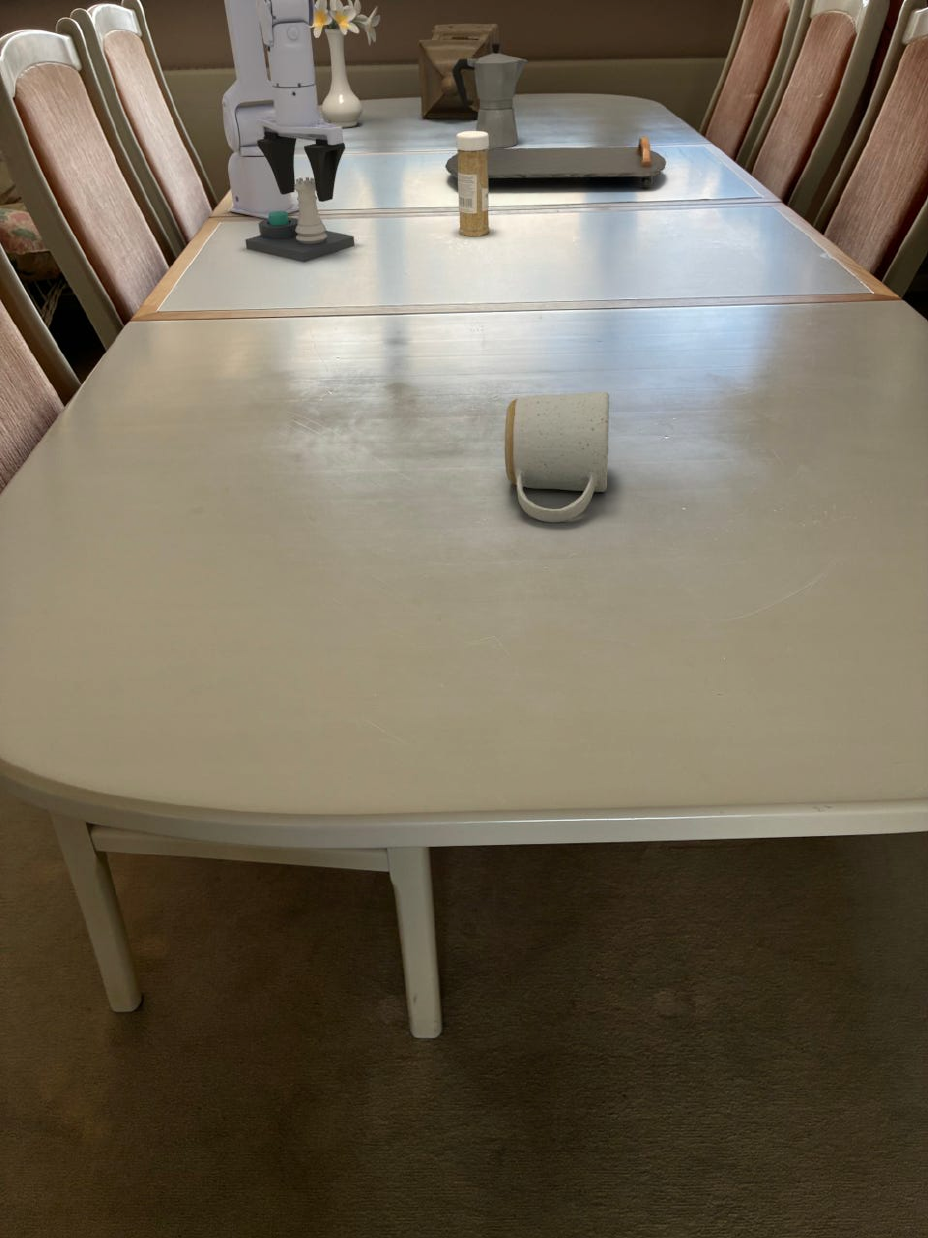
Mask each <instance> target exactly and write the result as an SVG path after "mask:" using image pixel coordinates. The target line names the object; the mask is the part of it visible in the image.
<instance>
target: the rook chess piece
mask: <svg viewBox="0 0 928 1238" xmlns="http://www.w3.org/2000/svg"><path fill="white" fill-rule="evenodd" d="M294 189H295V191H296V193H297V194H298V195H297V197H296V200H297V201H298V205H299V211H298V220H299V221H298V222H297V223H298V225H297V227H296V229H295V231H296V233H297V234H298V235H297V236H296V239H297V240H298V241H299V242H300V243H304V244H314V243H320V242H323V241H324V240H325V239H326V237H327V234H325V233H324V232H325V230H326V231H327V228H326V226H325V224H324V223H323V220H322V219H321V217H320V214H319V209H318V205H317V200H318V197H317V195H316V187H315V180H314V177H310V176H309V177H308V176H305V180H304V178H303V177H298V178H295V186H294Z"/></svg>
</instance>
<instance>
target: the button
mask: <svg viewBox="0 0 928 1238" xmlns="http://www.w3.org/2000/svg"><path fill="white" fill-rule="evenodd" d="M288 217H289V213H287V212H284V211H275V212H271V213H269V214H268V218H269V225H285V224H288V223H289V219H288Z"/></svg>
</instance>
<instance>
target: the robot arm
mask: <svg viewBox="0 0 928 1238" xmlns="http://www.w3.org/2000/svg"><path fill="white" fill-rule="evenodd" d="M223 2H224V8H225V13H226V21H227V27H228V33H229V39H230V45H231V52H232V57H233V65H234V70H235V78H236V80H235V81H234V82H233V84H232V85H231V86H230V87H229V88H228V89H227V90H226V91H225V93H224V94H223V96H222V100H221V105H222V106H221V107H222V120H223V121H222V122H223V129H224V133H225V138H226V141H227V144H228V147H229V148H230V149H231V150H232V151H233V153H232V154H231V156H230V158H229V160H228V164H227V172H228V179H229V186H230V193H231V199H232V205H233V207H230V208H229V212H232V213H236V214H241V215H246V216H250V217H251V216H252V217H256V218H261V219H264V220H266V219H269V218H268V214H269V213H271V212H275V211H284V212H287V213H288V214H291V213H294V212H299V204H295V203H292V197H291V196H292V195H291V193H295V191H296V190H295V189H294V186H295V184H296V175H295V150H296V143H297V140H305V141H311V142H315V143H311V144H308V145H304V146H303V150H304V152H305V154H306V156H307V159H308V162H309V165H310V167H311V172H312V174H313V178H314V182H315V187H316V191H315V194H316V197H317V200H318V202H320V203H325V202H328V201H331V200H333V198H334V191H335V183H336V179H337V174H338V173H337V172H338V169H339V165H340V162H341V159H342V157H343V154H344V152H345V150H346V144H345V143H344V133H343V128H342V127H341V126H335V125H332V124H330V122H326V121H325V119H324V118H321V117H320V110H319V100H318V92H317V91H318V90H317V84H316V83H317V81H316V80H317V79H316V71H315V62H314V51H313V42H312V31H311V28H310V27H309V26H312V25H313V23H314V17H315V6H314V5H315V0H223ZM308 25H309V26H308ZM263 44H264V45H266V50H267V60H268V67H269V68H268V69H269V74H270V75H269V76H270V80H269V79H268V71H267V64H266V58H265V57H266V56H265V51H264V50H265V49H264V45H263ZM262 101H271V102H269V103H257V104H247V105H241V104H243V103H250V102H251V103H252V102H262Z"/></svg>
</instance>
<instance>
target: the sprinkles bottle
mask: <svg viewBox="0 0 928 1238" xmlns="http://www.w3.org/2000/svg"><path fill="white" fill-rule="evenodd" d="M455 136H456V137H455V141H456V142H455V146H456V149H457V154H458V178H457V189H458V191H457V192H458V193H457V194H458V210H459V230H458V231H459V233H460V235H462V236H465V237H482V236H486V235H487V234H489V233H490V227H489V226H490V225H489V221H490V220H489V208H490V206H489V178H488V166H487V165H488V163H487V151H488V149H489V148H488V147H489V136H488V133H486V132H482V131H476V130H467V131H466V130H465V131H461V132H458V133H457V134H456V135H455Z"/></svg>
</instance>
